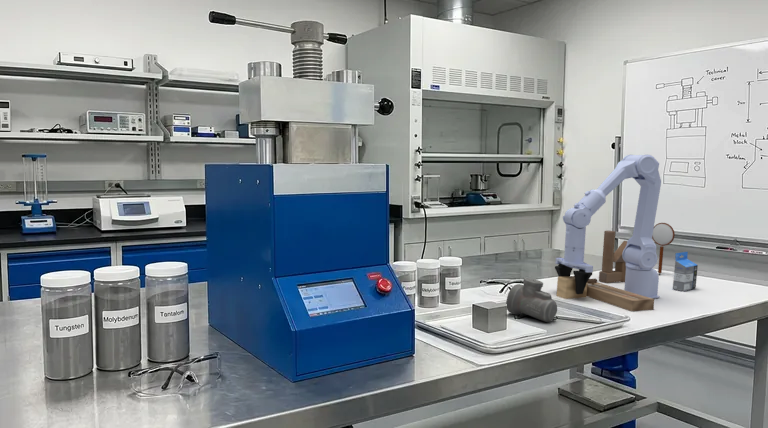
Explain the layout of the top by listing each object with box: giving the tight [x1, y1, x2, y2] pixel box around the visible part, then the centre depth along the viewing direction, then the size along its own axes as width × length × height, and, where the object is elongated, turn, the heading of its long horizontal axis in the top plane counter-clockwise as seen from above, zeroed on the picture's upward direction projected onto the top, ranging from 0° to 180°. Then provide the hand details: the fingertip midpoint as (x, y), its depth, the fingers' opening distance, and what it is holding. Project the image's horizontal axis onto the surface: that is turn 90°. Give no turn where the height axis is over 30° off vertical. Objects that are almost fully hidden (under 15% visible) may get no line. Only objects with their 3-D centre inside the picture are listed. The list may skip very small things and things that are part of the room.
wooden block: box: [598, 230, 628, 284], centre depth 196 cm, size 4×11×18 cm, turn 113°
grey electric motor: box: [505, 277, 558, 323], centre depth 146 cm, size 12×8×10 cm
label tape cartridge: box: [672, 251, 699, 292], centre depth 187 cm, size 9×4×12 cm, turn 128°
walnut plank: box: [586, 281, 655, 312], centre depth 169 cm, size 8×24×3 cm, turn 21°
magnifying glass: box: [652, 222, 676, 275], centre depth 211 cm, size 9×2×20 cm, turn 35°
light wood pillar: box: [556, 275, 598, 300], centre depth 173 cm, size 13×4×6 cm, turn 111°
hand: (571, 291), depth 172 cm, fingers open, 6 cm apart
